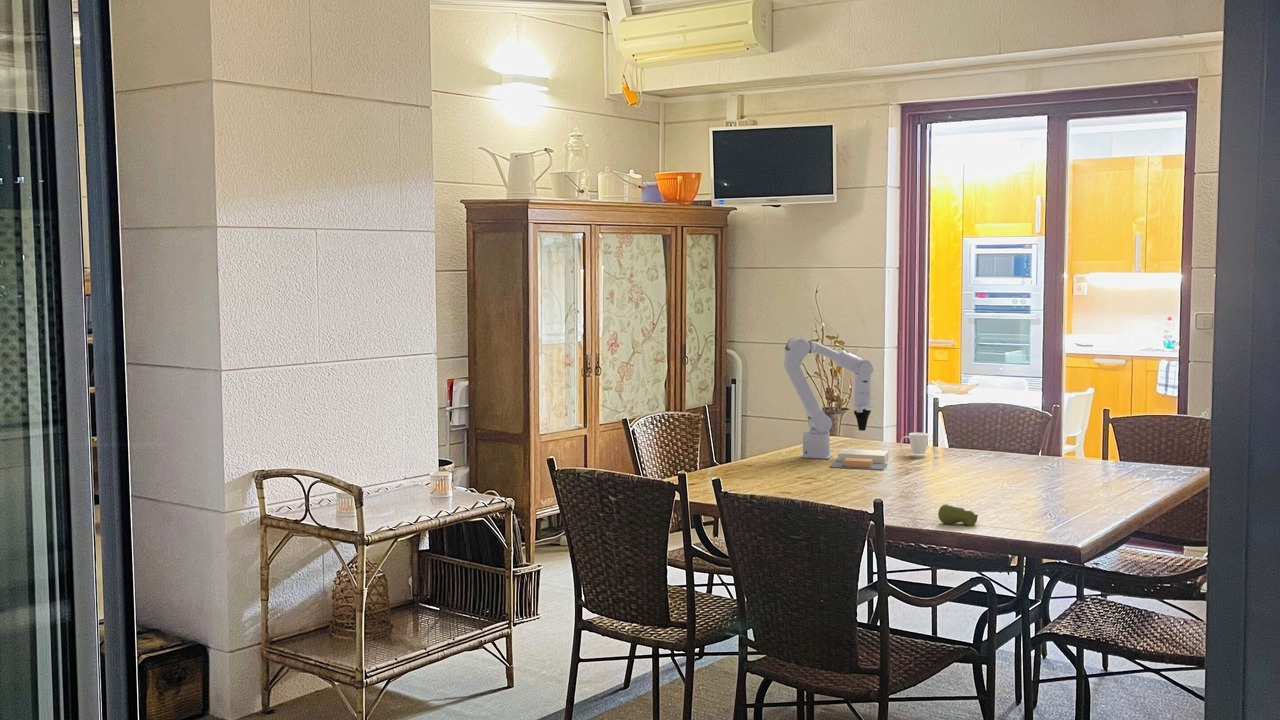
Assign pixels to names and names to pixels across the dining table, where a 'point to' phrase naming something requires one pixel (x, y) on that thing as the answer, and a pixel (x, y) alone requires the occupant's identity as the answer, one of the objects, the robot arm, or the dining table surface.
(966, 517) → the pear
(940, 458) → the dining table surface
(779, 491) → the dining table surface
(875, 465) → the mat
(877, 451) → the cream flat block
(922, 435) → the cup
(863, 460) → the tile
